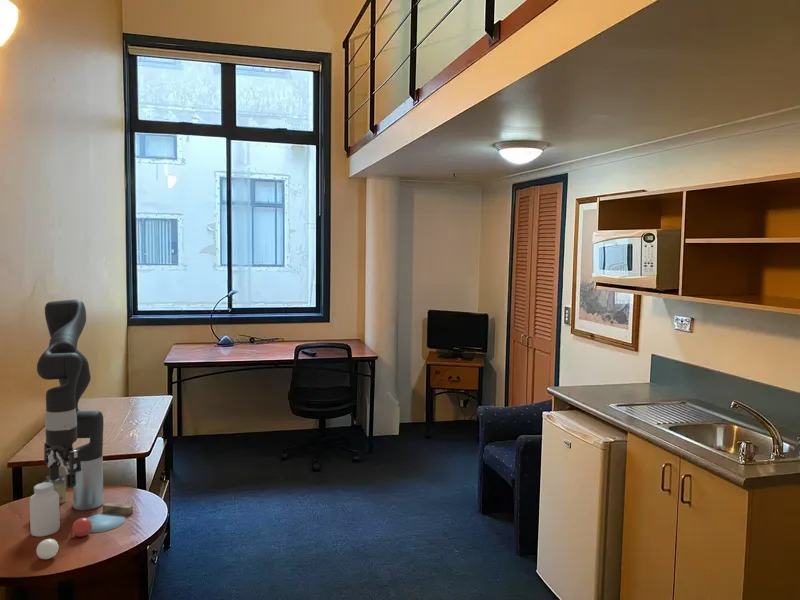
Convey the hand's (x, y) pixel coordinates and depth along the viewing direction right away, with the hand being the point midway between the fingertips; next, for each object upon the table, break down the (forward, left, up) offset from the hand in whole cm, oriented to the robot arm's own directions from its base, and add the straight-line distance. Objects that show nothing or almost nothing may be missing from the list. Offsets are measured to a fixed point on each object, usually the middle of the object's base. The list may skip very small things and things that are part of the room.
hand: (62, 483), depth 164 cm
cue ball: (-9, -3, -22) cm, 24 cm away
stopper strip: (-29, +21, -25) cm, 44 cm away
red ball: (-18, +8, -22) cm, 30 cm away
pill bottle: (-28, 0, -25) cm, 38 cm away
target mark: (-24, +15, -25) cm, 37 cm away
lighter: (-50, +6, -25) cm, 56 cm away
